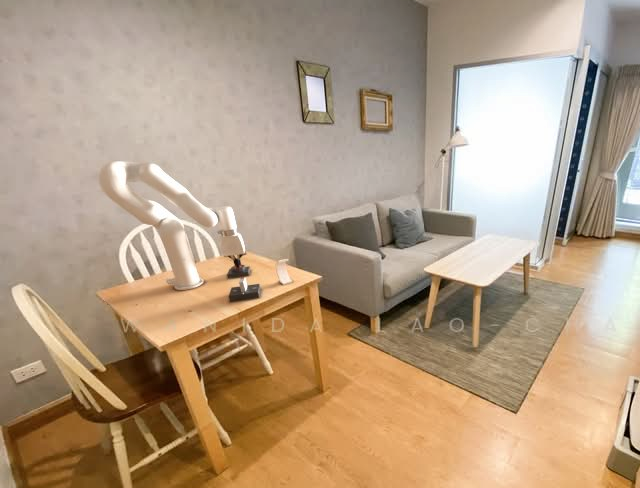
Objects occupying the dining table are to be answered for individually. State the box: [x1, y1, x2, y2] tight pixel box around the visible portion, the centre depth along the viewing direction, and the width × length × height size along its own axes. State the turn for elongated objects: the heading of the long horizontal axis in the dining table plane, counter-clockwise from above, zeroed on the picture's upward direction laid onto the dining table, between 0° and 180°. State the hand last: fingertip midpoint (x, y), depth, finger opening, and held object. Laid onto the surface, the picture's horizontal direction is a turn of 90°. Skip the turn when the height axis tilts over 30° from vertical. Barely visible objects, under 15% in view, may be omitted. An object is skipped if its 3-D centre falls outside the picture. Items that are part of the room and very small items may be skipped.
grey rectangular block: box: [238, 276, 248, 292], centre depth 147 cm, size 6×2×5 cm, turn 16°
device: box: [228, 283, 262, 303], centre depth 149 cm, size 12×10×3 cm
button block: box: [226, 264, 252, 279], centre depth 171 cm, size 10×8×4 cm
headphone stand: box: [275, 258, 293, 286], centre depth 160 cm, size 5×6×12 cm
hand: (238, 266), depth 170 cm, fingers closed
